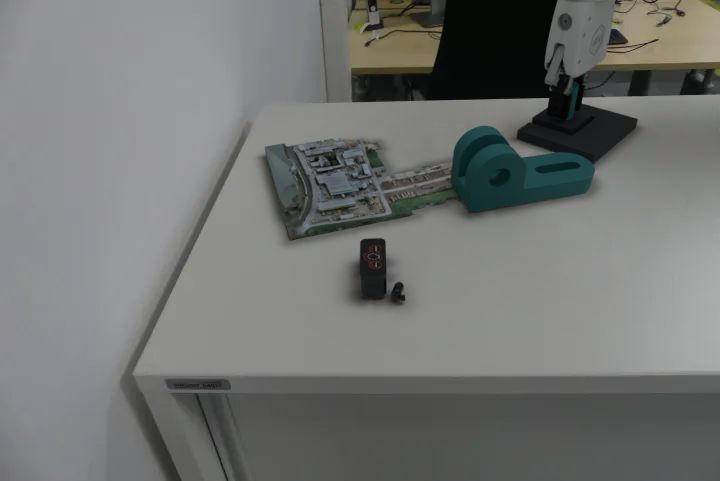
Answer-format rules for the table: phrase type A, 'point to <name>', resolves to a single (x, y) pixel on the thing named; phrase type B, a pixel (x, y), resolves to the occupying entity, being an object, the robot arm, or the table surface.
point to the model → (348, 186)
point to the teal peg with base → (569, 125)
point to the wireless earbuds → (376, 270)
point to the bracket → (512, 172)
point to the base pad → (582, 134)
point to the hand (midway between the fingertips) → (563, 111)
